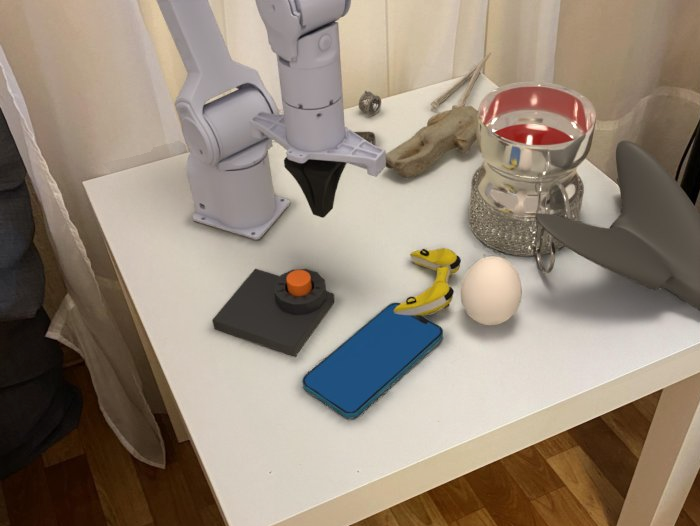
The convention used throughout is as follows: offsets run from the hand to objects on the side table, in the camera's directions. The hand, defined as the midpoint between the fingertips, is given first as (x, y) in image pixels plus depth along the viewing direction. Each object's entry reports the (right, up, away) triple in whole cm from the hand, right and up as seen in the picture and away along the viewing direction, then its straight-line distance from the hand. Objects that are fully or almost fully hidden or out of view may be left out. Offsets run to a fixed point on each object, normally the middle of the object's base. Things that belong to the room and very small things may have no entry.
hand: (322, 211), depth 89 cm
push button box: (-6, -11, +3) cm, 13 cm away
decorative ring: (+4, +20, +29) cm, 36 cm away
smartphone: (+5, -16, -1) cm, 17 cm away
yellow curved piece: (+11, -8, +5) cm, 15 cm away
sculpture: (+13, +11, +22) cm, 28 cm away
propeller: (+36, -5, +4) cm, 36 cm away
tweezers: (+18, +27, +32) cm, 45 cm away
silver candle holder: (+25, 0, +12) cm, 27 cm away
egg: (+18, -11, +2) cm, 21 cm away
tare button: (-3, -8, +2) cm, 9 cm away
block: (+2, +14, +25) cm, 28 cm away
